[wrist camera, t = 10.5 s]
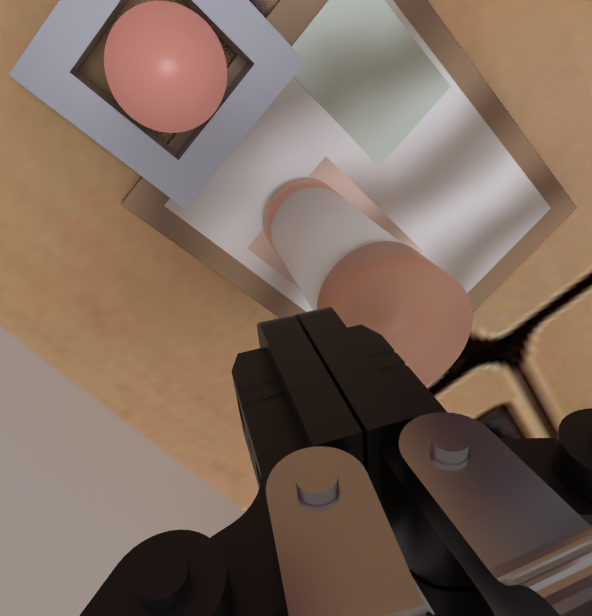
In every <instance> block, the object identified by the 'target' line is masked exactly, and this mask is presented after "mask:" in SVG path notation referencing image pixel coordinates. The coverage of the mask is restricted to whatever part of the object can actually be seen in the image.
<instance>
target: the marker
mask: <svg viewBox="0 0 592 616" xmlns="http://www.w3.org/2000/svg"><path fill="white" fill-rule="evenodd" d="M262 219H263V227H264V231H265V235H266V237H267V239H268V241H269V242H270V244H271V245H272V247H273V249H274V250H275V252H276V254H277V255H278V256H279V257H280V258H281V260H282V261H283V263H284V264H285V266H286V268H287V269H288V271H289V273H290V274H291V276H292V277H293V279H294V281H295V282H296V284H297V285H298V287H299V289H300V290H301V292H302V294H303V295H304V297H305V298H306V300H307V302H308V303H309V305H310V306H311V308H312V310H317V309H322V308H326V307H332V308H333V309H334V311H335V312H336V313H337V315H338V316H339V317H340V319H341V320H342V321H343V323H344V324H345V325H346V327H347V328H348V327H352V326H356V325H361V324H362V325H363V326H365V327H367V328H369V329H371V330H373V331H375V332H377V333H379V334H381V335H382V336H383V337H384V338H385V339H386V341H387V342H388V343H389V344H390V345H391V346H392V348H393V349H394V351H395V353H397V354H398V355H399V356H400V357H401V358H402V359H403V361H404V362H405V365H406V366H408V367H409V368H410V369H411V370H412V371H413V372H414V374H415V375H416V376H417V377H418V378H419V380H420V381H421V382H422V383H423V384H424V385H427V384H429V383H431V382H432V381H434V380H435V379H437V378H438V377H439V376H441V375H442V374H443V373H444V372H445V371H447V370H448V369H449V368H450V367H451V366H452V364H453V363H454V362H455V361H456V360H457V358H458V357H459V356H460V354H461V352H462V351H463V349H464V347H465V345H466V343H467V341H468V338H469V335H470V332H471V327H472V318H473V315H472V306H471V302H470V299H469V297H468V294H467V293H466V291H465V289H464V288H463V287H462V286H461V284H460V283H459V282H458V281H456V280H455V279H454V278H453V277H451V276H450V275H449V274H447V273H446V272H445V271H443V270H442V269H441V268H439V267H438V266H437V265H435V264H434V263H433V262H431V261H430V260H429V259H427V258H426V257H425V256H423V255H422V254H421V253H419V252H418V251H417V250H415V249H414V248H412V247H410V246H408V245H405V244H403V243H401V242H400V241H398V240H397V239H396V238H394V237H393V236H392V235H391V234H389V233H388V232H387V231H385V230H384V229H383V228H381V227H380V226H379V225H378V224H376V223H375V222H374V221H372V220H371V219H370V218H368V217H367V216H366V215H364V214H363V213H362V212H361V211H359V210H358V209H357V208H355V207H354V206H353V205H351V204H350V203H349V202H347V201H346V200H345V199H344V198H343V197H342V196H341V195H340V194H339V193H338V192H336V191H335V190H334V189H332V188H331V187H330V186H328V185H327V184H325V183H324V182H322V181H320V180H317V179H313V178H309V177H298V178H293V179H290V180H288V181H285V182H284V183H282V184H280V185H279V186H278V187H277V188H276V189H275V190H274V191H273V192H272V193H271V194H270V196H269V197H268V199H267V201H266V203H265V206H264V210H263V216H262Z"/></svg>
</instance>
